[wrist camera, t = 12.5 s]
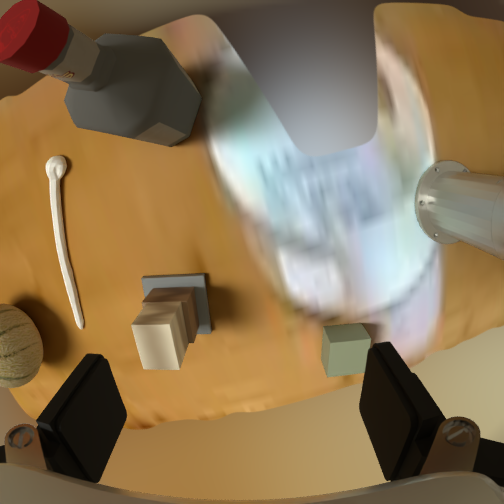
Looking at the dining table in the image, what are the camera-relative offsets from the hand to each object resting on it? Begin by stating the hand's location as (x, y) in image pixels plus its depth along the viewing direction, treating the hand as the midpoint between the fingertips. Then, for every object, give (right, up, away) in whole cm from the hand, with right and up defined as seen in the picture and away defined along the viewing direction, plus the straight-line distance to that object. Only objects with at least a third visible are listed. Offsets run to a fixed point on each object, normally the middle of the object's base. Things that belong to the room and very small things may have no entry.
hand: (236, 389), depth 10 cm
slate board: (-10, -3, +34) cm, 36 cm away
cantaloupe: (-42, -10, +36) cm, 56 cm away
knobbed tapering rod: (-28, +6, +33) cm, 43 cm away
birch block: (-10, -4, +28) cm, 31 cm away
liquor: (-11, +23, +27) cm, 38 cm away
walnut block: (-10, -3, +33) cm, 35 cm away
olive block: (+14, -9, +36) cm, 40 cm away
